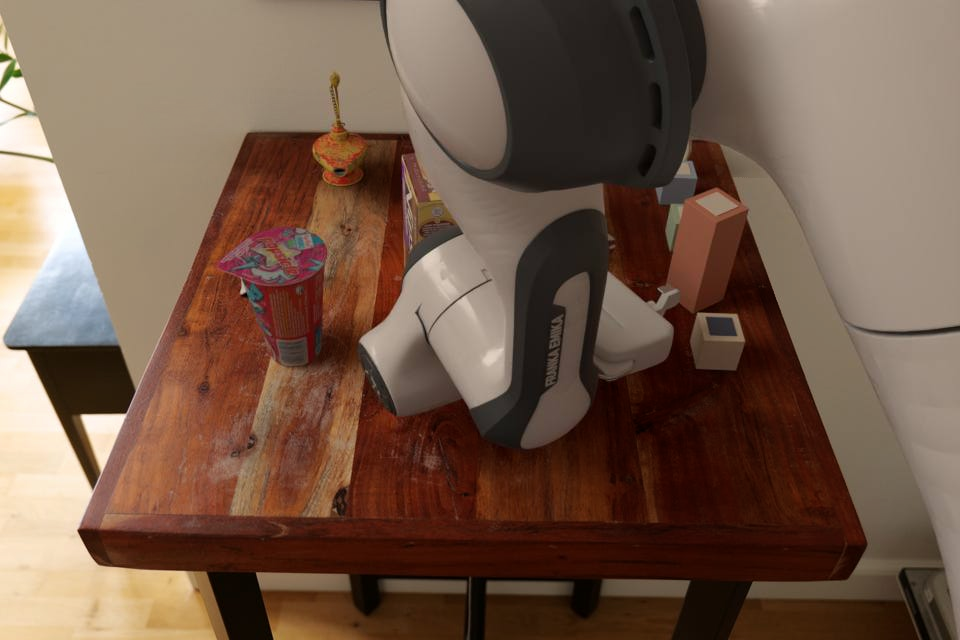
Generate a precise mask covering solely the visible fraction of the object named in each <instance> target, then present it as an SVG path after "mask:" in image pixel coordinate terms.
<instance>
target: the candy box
mask: <svg viewBox="0 0 960 640" xmlns="http://www.w3.org/2000/svg"><path fill="white" fill-rule="evenodd" d="M401 181H402V185H401V186H402V187H401V188H402V189H401V190H402V226H403V227H402V228H403V232H402V233H403V266H404V267H405V264H406V262H407V259H408V257H409V254H410V252H411V250H412V248H413V247H414V246H415V245H416V244H417V243H418V242H419V241H421V240H422V239H424V238H425V237H427V236H428V235H430V234H432V233H434V232H436V231H438V230H441V229H443V228H446V227H449V226H452V225H456V224H457V223H456V221H455V220H454V218H453V217H452V215H451V214H450V212H449V211H448V209H447V208H446V206H445V205H444V203H443V202H442V200H441V199H440V197H439V196H438V194H437V193H436V191H435V189H434V188H433V186H432V185H431V183H430V181H429V180H428V178H427V176H426V174H425V173H424V171H423V169H422V167H421V165H420V163H419V161H418V158H417V156H416V153H415V152H412V153H406V154H402V155H401ZM404 267H403V268H404Z"/></svg>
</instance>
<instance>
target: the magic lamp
mask: <svg viewBox="0 0 960 640" xmlns="http://www.w3.org/2000/svg"><path fill="white" fill-rule="evenodd" d="M329 81H330V86H329V87H328V88H329V93H330V99H331V104H332V107H333V112H334V117H335V120H334V122H333V123H331V126H332V127H333V128H332V129H330V130H329V131H330V132H328V133H326V134H323V135H322V136H319V137H318V138H317V139H316V141H315V142H313V145H312V155H313V157H314V159H315V160H316V161H317V163H318V164H319V165H321V166H322V167H323V168H325V170H324V171H323V173H322V179H323V181H324V182H325V183H327V184H329V185H331V186H335V187H347V186H352V185H355V184H357V183H359V182H360V181H361V180H362V179H363V177H364V171H363V170H362V169H361V168H360V167H358V166H359V165H360V164H362V162H363V161H365V159H366V157H367V156H368V153H369V146H368V142H367V141H366V139H365V138H364V137H362V136H361V135H359V134H358V133H354V132H351V131H348V129H347V128H345V126H346V123H345V122H342V120H341V113H340V102H339V101H340V100H339V92H338V87H339V85H340V83H341V77H340V75H339V74H338V73H337V71H335V70H333V72H332V73H331V74H330V77H329Z"/></svg>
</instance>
